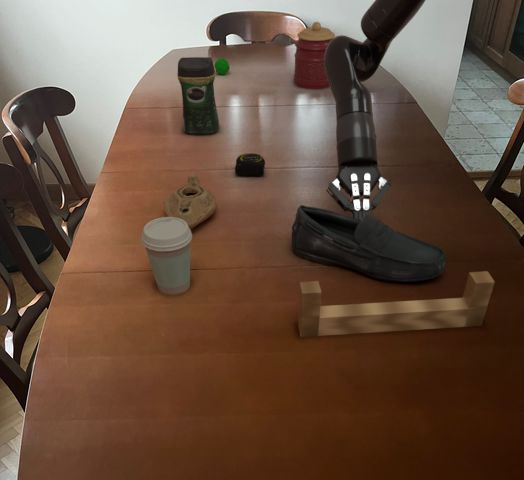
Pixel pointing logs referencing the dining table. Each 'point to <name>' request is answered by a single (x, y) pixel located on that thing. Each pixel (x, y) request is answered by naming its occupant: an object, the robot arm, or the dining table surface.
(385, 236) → the loafer
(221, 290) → the dining table surface
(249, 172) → the tape measure
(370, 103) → the robot arm
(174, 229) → the coffee cup
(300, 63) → the kitchen canister
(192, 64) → the coffee jar
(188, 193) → the oil lamp
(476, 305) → the wooden u-shaped bracket
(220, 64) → the polyhedron
